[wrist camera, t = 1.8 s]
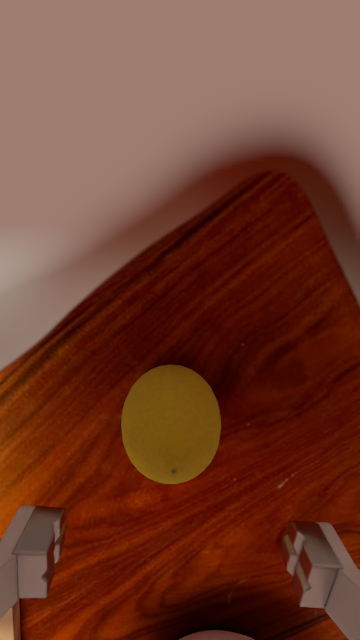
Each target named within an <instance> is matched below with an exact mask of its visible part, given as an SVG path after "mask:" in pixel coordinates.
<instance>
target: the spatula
mask: <svg viewBox="0 0 360 640" xmlns="http://www.w3.org/2000/svg"><path fill="white" fill-rule="evenodd" d="M0 640H21V631H20V606H19V598H18V600H17V602H16V603H15V604H14V605H13V606H12V607H11V608H10V610H9V611H8V612H7V613H6V614H5V615H4V616H3V617H2V619H1V620H0Z"/></svg>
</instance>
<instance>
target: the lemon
mask: <svg viewBox="0 0 360 640" xmlns="http://www.w3.org/2000/svg"><path fill="white" fill-rule="evenodd" d="M121 427H122V436H123V443H124V447H125V450H126V452H127V454H128V456H129V459H130V461H131V462H132V463H133V465H134V466H135V467H136V468H137V469H138V471H139V472H141V473H142V474H143V475H145V476H146V477H147V478H149V479H151V480H154V481H156V482H159V483H165V484H178V483H182V482H186V481H188V480H190V479H192V478H194V477H196V476H197V475H199V474H200V473H201V472H202V471H204V470H205V469H206V467H207V466H208V465H209V464H210V462H211V461H212V459H213V457H214V455H215V453H216V451H217V448H218V445H219V439H220V431H221V418H220V411H219V406H218V402H217V399H216V397H215V395H214V393H213V391H212V389H211V387H210V386H209V385H208V383H207V382H206V381H205V380H204V379H203V378H202V377H201V376H200V375H199V374H197V373H196V372H194V371H193V370H191V369H189V368H186V367H183V366H180V365H163V366H159V367H156V368H153V369H151V370H149V371H148V372H146V373H145V374H143V375H142V376H141V377H140V378H139V379H138V380H137V381H136V382H135V384H134V385H133V386H132V388H131V389H130V391H129V394H128V396H127V398H126V400H125V403H124V407H123V413H122V419H121Z"/></svg>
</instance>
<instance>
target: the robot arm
mask: <svg viewBox="0 0 360 640" xmlns="http://www.w3.org/2000/svg"><path fill="white" fill-rule="evenodd" d="M65 519H66V509H65V508H55V507H44V506H30V505H22V506H21V507H20V508H19V509H18V510H17V512H16V514H15V516H14V518H13V519H12V521H11V523H10V525H9V527H8V528H7V530H6V532H5V534H4V536H3V537H2V539H1V541H0V620H1V619H2V617H3V616H4V615H5V614H6V613H7V612H8V611H9V610H10V608H11V607H12V606H13V605H14V604H15V603H16V602H17V600H18V598H46V597H47V594H48V591H49V588H50V585H51V582H52V579H53V577H54V567H55V563H56V562H57V561H58V560H59V559H60V556H61V553H62V549H63V545H64V541H65V535H66V525H65V524H64V522H65ZM286 530H287V532H288V534H287V535H286V536H284V537H283V540H282V557H283V561H284V564H285V567H286V569H287V570H288V571H289V573H290V574H291V575H292V576H293V580H292V586H293V589H294V591H295V594H296V597H297V600H298V602H299V605H300V607H313V608H325V611H326V613H327V614H328V615H329V616H330V617H331V619H332V620H333V621H334V622H335V624H336V625H337V626H338V627H339V629H340V630H341V631H342V632H343V634H344V635H345V636H346V637H347V639H348V640H360V570H358V569H357V567H356V565H355V564H354V562H353V560H352V559H351V557H350V555H349V554H348V552H347V550H346V548H345V547H344V545H343V543H342V542H341V540H340V538H339V537H338V535H337V533H336V531H335V530H334V528H333V526H332V525H331V524H330V523H324V522H310V521H289V522H288V523H287V526H286Z"/></svg>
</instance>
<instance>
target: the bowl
mask: <svg viewBox="0 0 360 640" xmlns="http://www.w3.org/2000/svg"><path fill="white" fill-rule="evenodd" d="M178 640H255V639H253V638H250V637H248V636H246V635H242V634H238V633H234V632H230V631H222V630H207V631H200V632H196V633H193V634H190V635H187V636H185V637H183V638H180V639H178Z"/></svg>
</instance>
